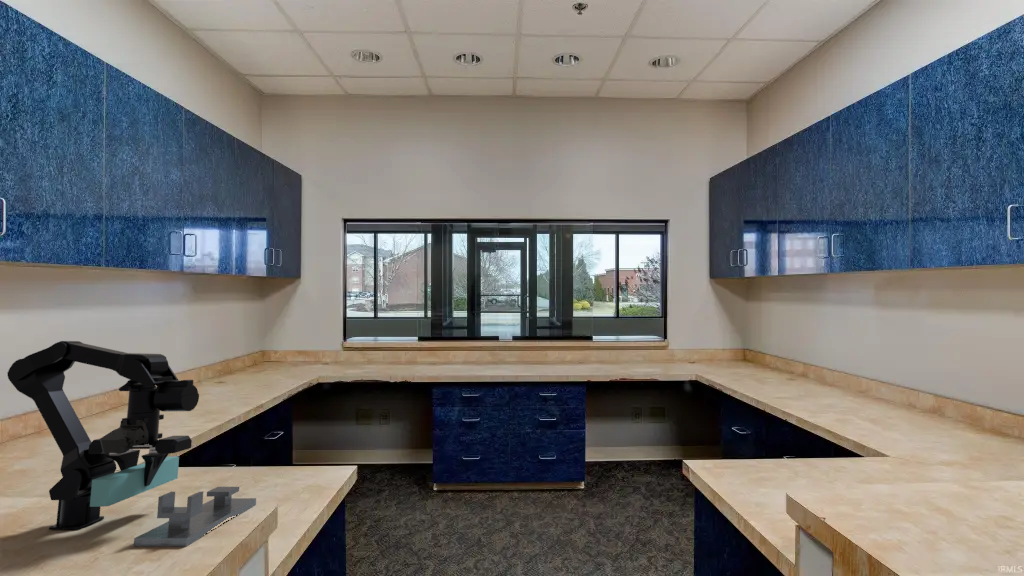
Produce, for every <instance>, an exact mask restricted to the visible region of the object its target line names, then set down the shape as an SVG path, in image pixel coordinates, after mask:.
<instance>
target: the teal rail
mask: <svg viewBox="0 0 1024 576" xmlns="http://www.w3.org/2000/svg"><path fill="white" fill-rule="evenodd" d="M179 460H180V456H167V457H166V458H165V460H164V461H163V463H162V464H161V466H160V468H159V469H158V471H157V473H156V475H155V476H154V478H153V480H152V482H151V484H150V485H149V486H144V472H145V462H143V463H140V464H137V466H134V467H131V468H128V469H125V470H119V471H115V473H112V474H109V475H106V476H103V477H100V478H97V479H94V480H92V488H91V499H90V507H100V508H101V507H110V506H113V505H115V504H118V503H120V502H122V501H125V500H127V499H130V498H132V497H134V496H137V495H140V494H142V493H145V492H147V491H149V490H152V489H155V488H157V487H159V486H160V487H161V486H162V485H165V484H167V483H169V482H173V481H174V480H177V479H178V478H179V477H178V475H179V464H180V463H179V462H180V461H179Z"/></svg>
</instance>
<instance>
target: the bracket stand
mask: <svg viewBox="0 0 1024 576" xmlns="http://www.w3.org/2000/svg"><path fill="white" fill-rule="evenodd" d="M238 492H240V486H217V487H215V488H211V489H210V490H208V491H207V492H206V497H213V499H211V500H209V501H207V502H205V503H203V502H204V491H197V492H196V493H193V494H191V495H189V496H187V499H186V500H187V501H186V502H187V504H186V506H175V503H176V491H170V492H167V493H164V494H163V495H160V496H158V503H157V514H156V515H157V517H156V519H168V521H166V522H164V523H163V524H160V525H158V526H156V527H154V528H152V529H150V530H149V531H146V532H144V533H142V534H140V535H138V536H136V537H134V538H133V547H134V548H136V547H137V548H143V547H144V548H145V547H147V548H148V547H149V548H153V547H154V548H155V547H157V548H161V547H163V548H165V547H166V548H167V547H169V548H178V547H179V548H181V547H183V548H184V547H185V548H186V547H187V546H190V545H192V544H193V543H194V542H196V541H198V540H199V538H200V539H201V538H203V537H204V536H203V535H204V534H206V533H207V532H208V531H210V530H211V529H212V528H214V527H215V526H217V525H218V524H220V523H221V522H223V521H224V520H226V519H227V518H229V517H232V516H235V515H238V514H240V515H242V514H243V513H245V512H246V511H248V510H250V509H252V508H254V507H255V506H256V505H257V497H256V498H255V497H254V498H253V497H252V498H250V497H248V498H247V497H245V498H243V497H242V498H241V497H240V498H239V497H238V498H235V497H232V496H233V495H235V494H236V493H238ZM238 516H239V515H238ZM206 535H207V534H206ZM202 536H203V537H202Z"/></svg>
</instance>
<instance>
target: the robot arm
mask: <svg viewBox="0 0 1024 576" xmlns="http://www.w3.org/2000/svg"><path fill="white" fill-rule="evenodd" d="M75 362H76V363H80V364H85V365H90V366H94V367H98V368H103V369H107V370H111V371H114V372H116V373H117V374H118V375H119V376H120V377H122V378H125V379H127V381H126V383H125V384H123V385H122V386H120V387H119V388H118V391H119V392H128V403H127V410H126V411H127V412H126V417H123V418H121V420H120V424H119V427H117V428H114V429H113V430H111V431H109V432H108V433H107V434H105V435H104V436H102V437H100V438H97V439H96V438H95V439H93V440H91V438H90V437H89V435H88V432H87V431H86V429H85V428H84V426H83V424H82V422H81V420H80V418H79V417H78V415H77V413H76V411H75V409H74V408H73V406H72V404H71V402H70V400H69V399H68V397H67V395H66V392H65V391H64V389H63V388H64V384H65V379H66V376H65V372H66V371H68V370H69V369H71V368H72V367H73V366H74V364H75ZM7 378H8V380H9V382H10V383H11V384H12V386H13V387H14V388H15V389H16V390H17V391H18V392H19V393H21V394H22V395H24V396H26V397H27V398H30V399H31V400H32V401H33V402H34V404H35V406H36V407H37V409H38V411H39V414H40V415H41V417H42V418H43V419H42V420H43V421H44V422H45V424H46V426H47V428H48V430H49V432H50V433H51V435H52V438H53V439H54V441H55V443H56V444H57V447H58V449H59V451H60V452H61V454H62V461H61V465H60V473H61V476H62V478H60V479H59V480H58V481H57V482H56V483H55V484H54V485H53V486H52V487H51V488H49V490H48V493H49V494H48V495H49V497H50V501H58V502H57V503H58V504H57V513H56V523H55V524H52V525H50V526H48V529H49V530H81V529H83V528H85V527H87V526H90V525H92V524H94V523H97V522H100V521H102V520H105V516H104V515H101V507H90V499H91V488H92V480H94V479H97V478H100V477H103V476H106V475H109V474H112V473H115V472H116V470H117V466H118V467H119V469H120V470H119V471H121V470H125V469H128V468H131V467H134V466H137V465H138V462H139V457H140V456H141V458H142V460H143V461H144V463H145V472H144V486H149V485H150V484H151V482H152V480H153V478H154V476H155V475H156V473H157V471H158V469H159V468H160V466H161V464H162V463H163V461H164V460H165V458H166V457H169V454H176V453H179V452H183V451H185V450H189V449H192V443H193V441H192V438H191V437H190V436H189V435H172V436H167V437H163V432H161V433H159V431H160V430H159V429H160V420H164V417H165V415H164V414H161V412H191V411H194V409H195V408H196V406H198V405H197V404H198V403H199V399H200V393H199V391H198V388H197V386H195V385H194V379H181V380H179V379H178V376H176V374H175V373H174V371H173V369H172V368H171V366H170V365H169V361H168V360H167V357H166V356H165V355H164V354H161V353H141V352H139V353H137V352H136V353H135V352H132V353H131V352H124V351H120V350H115V349H110V348H106V347H102V346H97V345H92V344H88V343H84V342H81V341H78V340H60V341H58V342H55V343H54V344H52V345H50V346H49V347H47V348H43V349H41V350H39V351H36V352H34V353H31V354H29V355H27V356H25V357H24V358H18V359H17V360H15V361H14V362H13V363H12V364H11V365H10V367H9V369H8V371H7ZM141 450H148V453H147V454H146V453H145V454H143V455H140V454H141V453H140V452H141ZM116 463H117V464H116Z"/></svg>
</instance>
